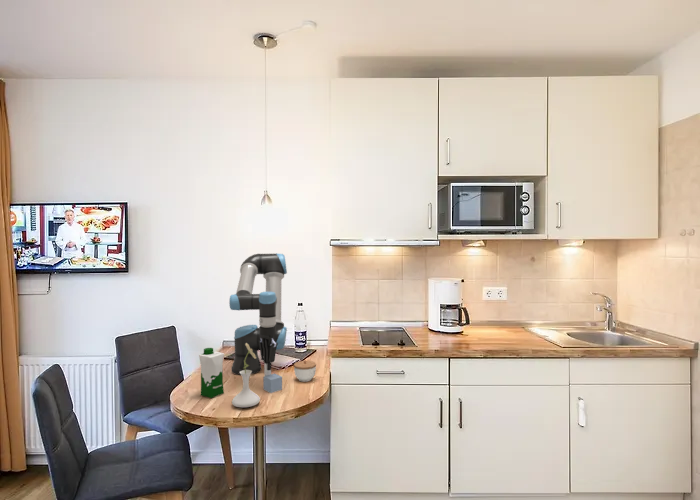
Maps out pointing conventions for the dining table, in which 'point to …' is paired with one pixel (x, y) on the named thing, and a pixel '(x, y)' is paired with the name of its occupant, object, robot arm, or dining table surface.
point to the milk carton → (211, 373)
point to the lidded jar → (305, 370)
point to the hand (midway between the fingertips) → (267, 376)
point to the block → (272, 383)
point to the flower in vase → (246, 388)
